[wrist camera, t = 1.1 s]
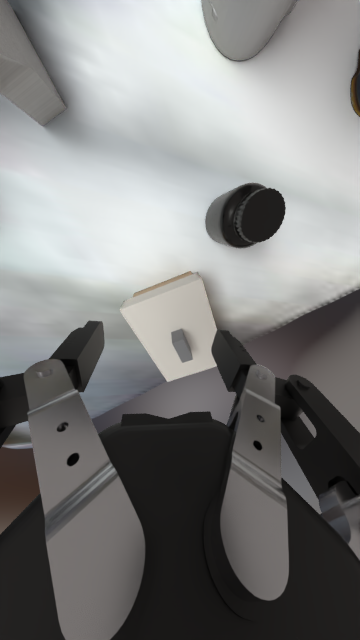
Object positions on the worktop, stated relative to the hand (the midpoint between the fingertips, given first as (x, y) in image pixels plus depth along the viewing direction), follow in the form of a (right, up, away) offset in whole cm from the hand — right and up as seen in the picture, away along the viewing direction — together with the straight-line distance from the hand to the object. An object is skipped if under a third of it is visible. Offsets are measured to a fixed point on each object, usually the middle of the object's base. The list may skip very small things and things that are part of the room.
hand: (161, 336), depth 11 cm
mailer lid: (+1, -1, +21) cm, 21 cm away
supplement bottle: (+9, +18, +15) cm, 25 cm away
